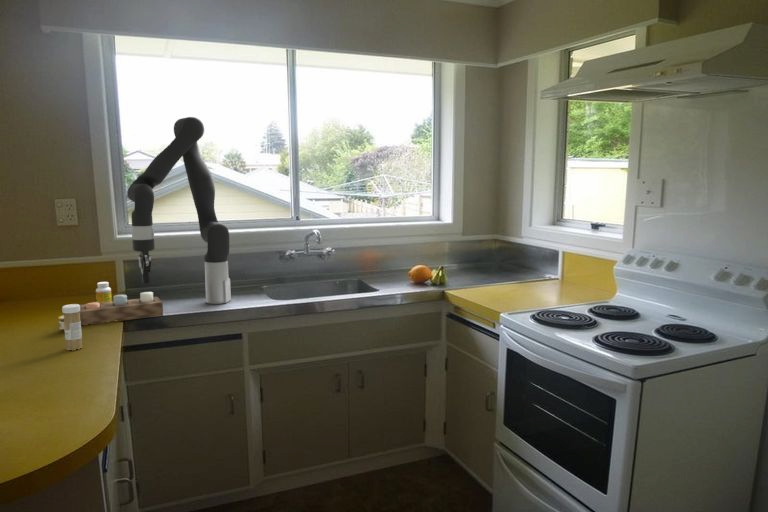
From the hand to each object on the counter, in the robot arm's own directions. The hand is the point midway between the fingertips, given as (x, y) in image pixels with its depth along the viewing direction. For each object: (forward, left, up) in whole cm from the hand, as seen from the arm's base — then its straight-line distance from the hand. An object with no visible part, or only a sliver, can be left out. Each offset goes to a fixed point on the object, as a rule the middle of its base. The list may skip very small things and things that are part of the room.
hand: (146, 283), depth 196 cm
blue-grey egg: (+7, +5, -9) cm, 13 cm away
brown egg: (+15, +10, -11) cm, 21 cm away
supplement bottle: (+22, -10, -12) cm, 27 cm away
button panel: (+7, +5, -12) cm, 15 cm away
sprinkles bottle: (+2, +41, -12) cm, 43 cm away
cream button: (0, 0, -9) cm, 9 cm away
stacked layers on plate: (+15, +23, -12) cm, 30 cm away
